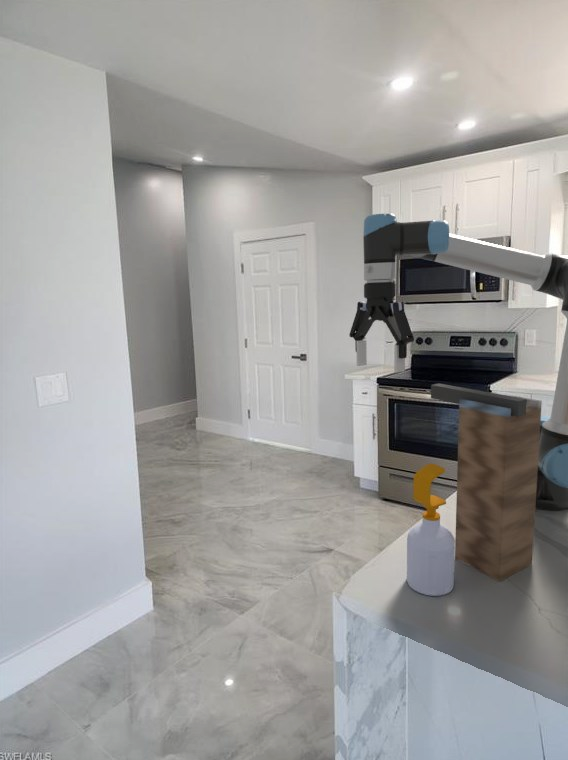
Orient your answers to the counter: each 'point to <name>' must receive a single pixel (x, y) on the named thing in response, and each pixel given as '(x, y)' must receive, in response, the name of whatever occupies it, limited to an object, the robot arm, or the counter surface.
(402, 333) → the robot arm
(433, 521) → the soap bottle
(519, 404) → the bar
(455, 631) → the counter surface
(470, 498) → the wooden block tower
